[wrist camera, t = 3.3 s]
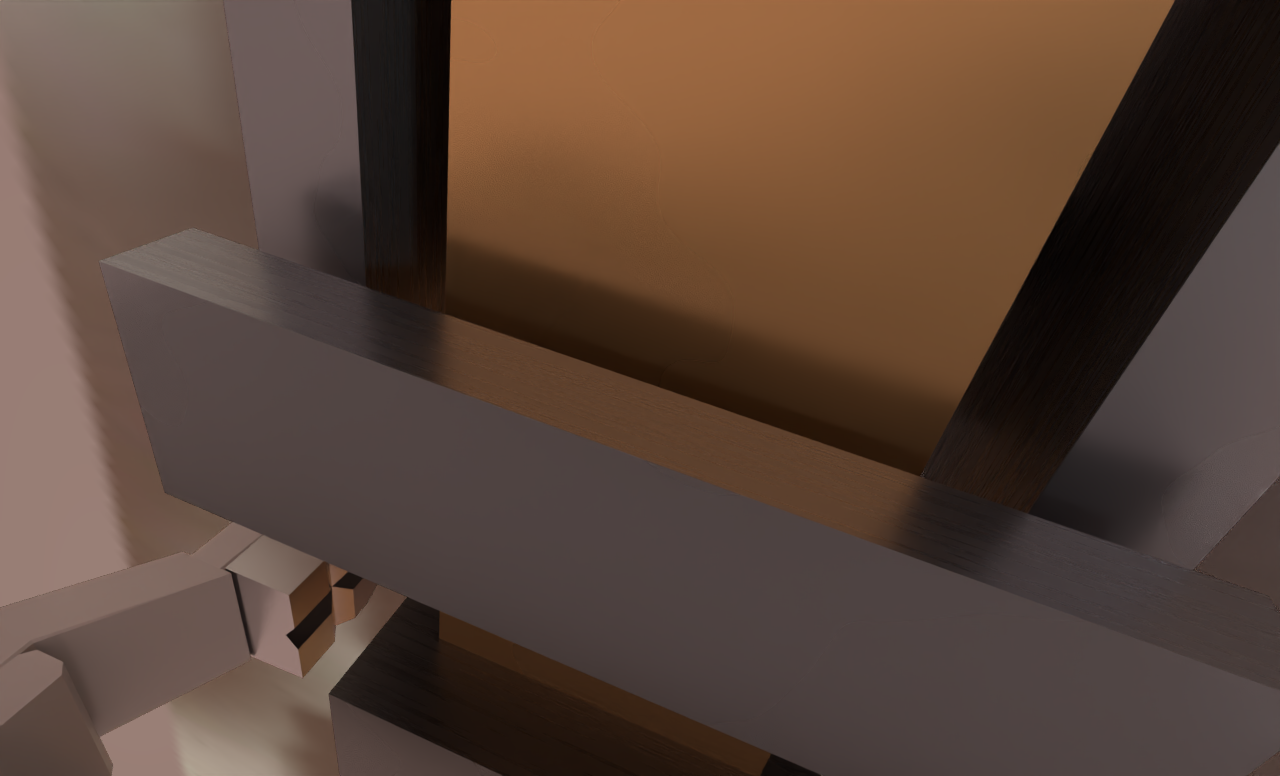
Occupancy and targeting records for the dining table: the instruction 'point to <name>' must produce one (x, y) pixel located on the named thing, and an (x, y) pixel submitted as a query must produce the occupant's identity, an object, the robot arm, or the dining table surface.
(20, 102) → the dining table surface
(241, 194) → the dining table surface
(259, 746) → the dining table surface
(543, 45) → the clamped wooden beam
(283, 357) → the sleeve
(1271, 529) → the dining table surface
